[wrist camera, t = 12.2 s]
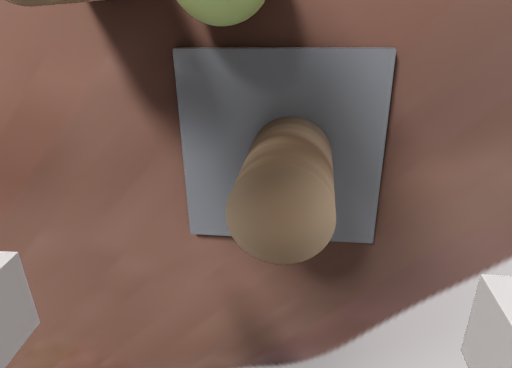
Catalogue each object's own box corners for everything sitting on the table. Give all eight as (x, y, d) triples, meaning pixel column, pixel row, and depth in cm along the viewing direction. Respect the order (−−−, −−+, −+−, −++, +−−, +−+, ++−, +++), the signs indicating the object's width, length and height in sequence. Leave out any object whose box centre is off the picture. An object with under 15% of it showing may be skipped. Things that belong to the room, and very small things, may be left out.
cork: (252, 190, 24) (228, 261, 18) (249, 116, 22) (222, 165, 16) (330, 193, 24) (333, 267, 17) (333, 116, 22) (339, 168, 16)
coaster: (192, 228, 27) (190, 234, 26) (175, 47, 22) (172, 48, 21) (371, 237, 25) (372, 243, 25) (394, 46, 21) (396, 48, 20)
